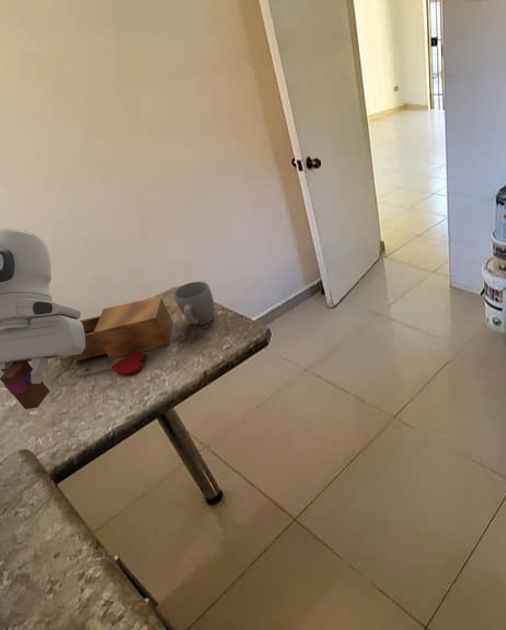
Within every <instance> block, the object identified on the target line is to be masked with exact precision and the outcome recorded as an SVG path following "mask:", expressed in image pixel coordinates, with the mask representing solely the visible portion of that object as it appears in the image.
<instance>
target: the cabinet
mask: <svg viewBox="0 0 506 630" xmlns="http://www.w3.org/2000/svg"><path fill="white" fill-rule="evenodd" d="M99 316H100V318H99V321H98V323H97V326H96V328H95V330H94V334H95V335H96V337H97V339H98V340H99V342H100V343H101V345H102V347H103V348H104V350H105V352H106V353H107V354H106V355H107V357H108V358H109V360H115V359H119V358H124V357H127V356H129V355H131V354H133V353H137V352H143V353H144V352H147V351H151V350H155V349H158V348H163V347H168V346H170V344H171V338H172V331H173V325H174V321H173V319H172V316H171V315H170V313H169V310H168V309H167V306H166V305H165V302H164V300H163V298H162V296H156V297H151V298H147V299H142V300H138V301H137V300H136V301H134V302H128V303H125V304H120V305H115V306H110V307H105V308H103V309H102V311H101V314H100V315H99Z"/></svg>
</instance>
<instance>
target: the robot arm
mask: <svg viewBox="0 0 506 630" xmlns="http://www.w3.org/2000/svg"><path fill="white" fill-rule="evenodd" d="M48 248H49V247H48V245H47V244H46V242H45V241H44V240H43V239H42V238H40V236H38V235H36V234H34V233H31V232H29V231H26V230H21V229H15V228H4V229H3V228H1V229H0V377H1V376H2V375H3V374H4V373H5V372H6V371H7V370H8V369H9V368H10V366H11V365H12V364H13V363H14V362H21V361H27V362H28V363H30V362H31V365H32V366H33V367H32V368H33V370H32V372H31V374H30V375H26V384H27V385H34V384H40V383H41V380H42V375H43V373H44V372H45V370H46V368H47V367H48V365H49V359H56V358H58V357H64V356H70V355H77V354H81V353H82V352H83V351H84V349H85V333H84V327H83V324H82V323H81V322H80V321H79V319H81V316H82V315H81V310H80V309H78V308H77V307H74V306H71V305H67V304H64V303H60V302H55V301H53V297H52V294H51V291H50V284H51V281H52V265H51V258H50V251H49V249H48ZM3 387H4V389H7V388H6V386H5V384H4V383H3Z"/></svg>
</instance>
